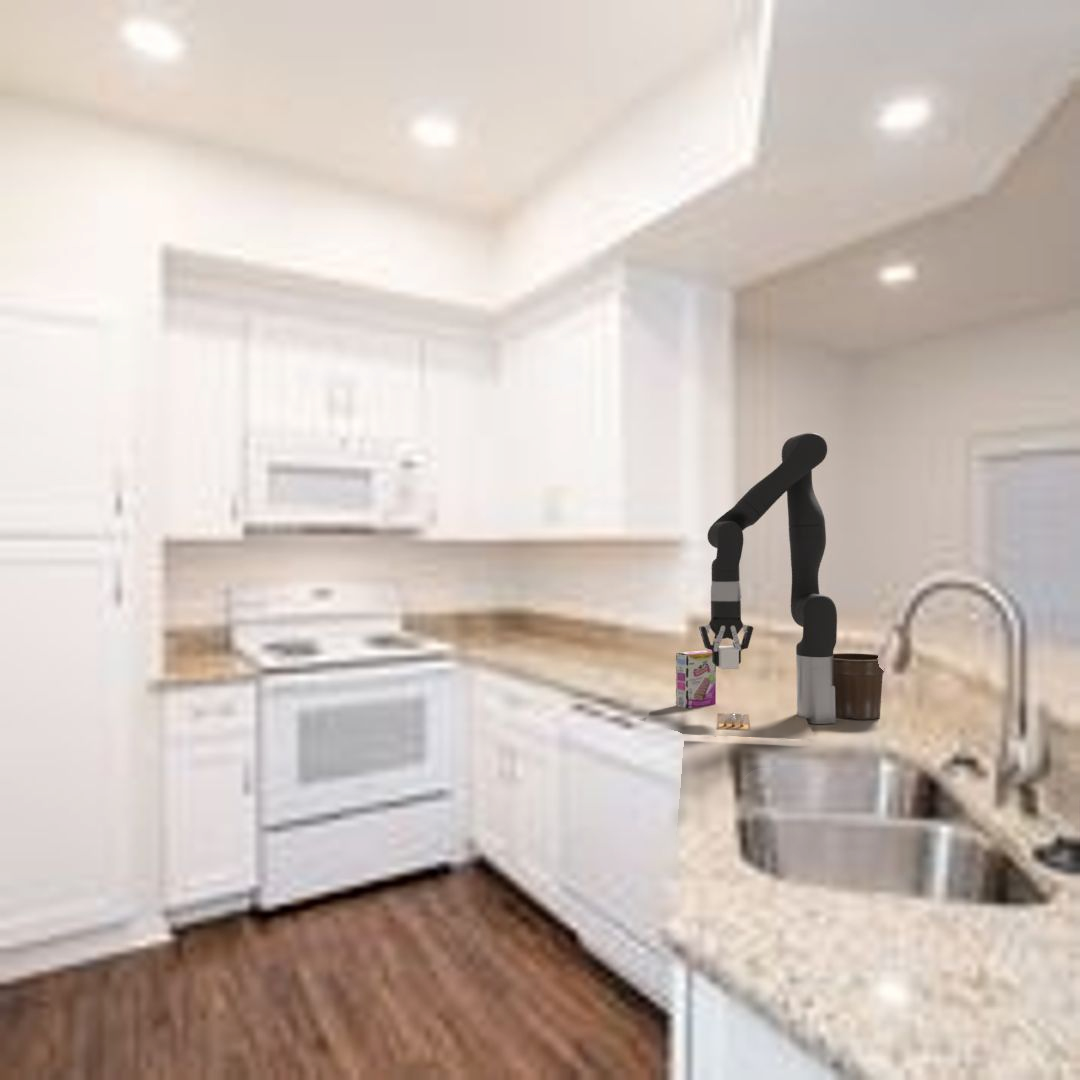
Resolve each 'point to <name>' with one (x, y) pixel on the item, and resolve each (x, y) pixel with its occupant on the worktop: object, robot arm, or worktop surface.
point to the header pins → (733, 720)
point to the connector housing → (728, 657)
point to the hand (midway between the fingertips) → (726, 665)
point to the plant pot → (857, 686)
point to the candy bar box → (695, 679)
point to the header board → (737, 722)
